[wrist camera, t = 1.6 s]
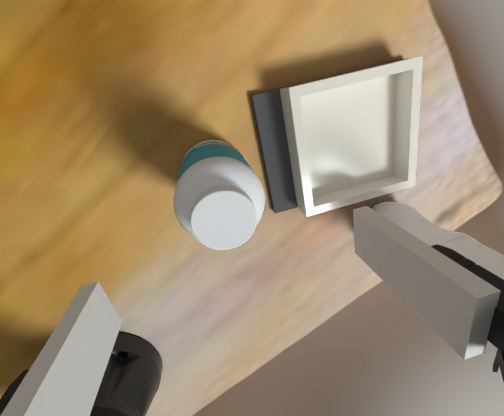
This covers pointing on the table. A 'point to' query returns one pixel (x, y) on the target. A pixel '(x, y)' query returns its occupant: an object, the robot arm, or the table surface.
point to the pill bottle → (218, 195)
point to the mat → (275, 148)
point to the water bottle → (441, 236)
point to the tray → (353, 134)
